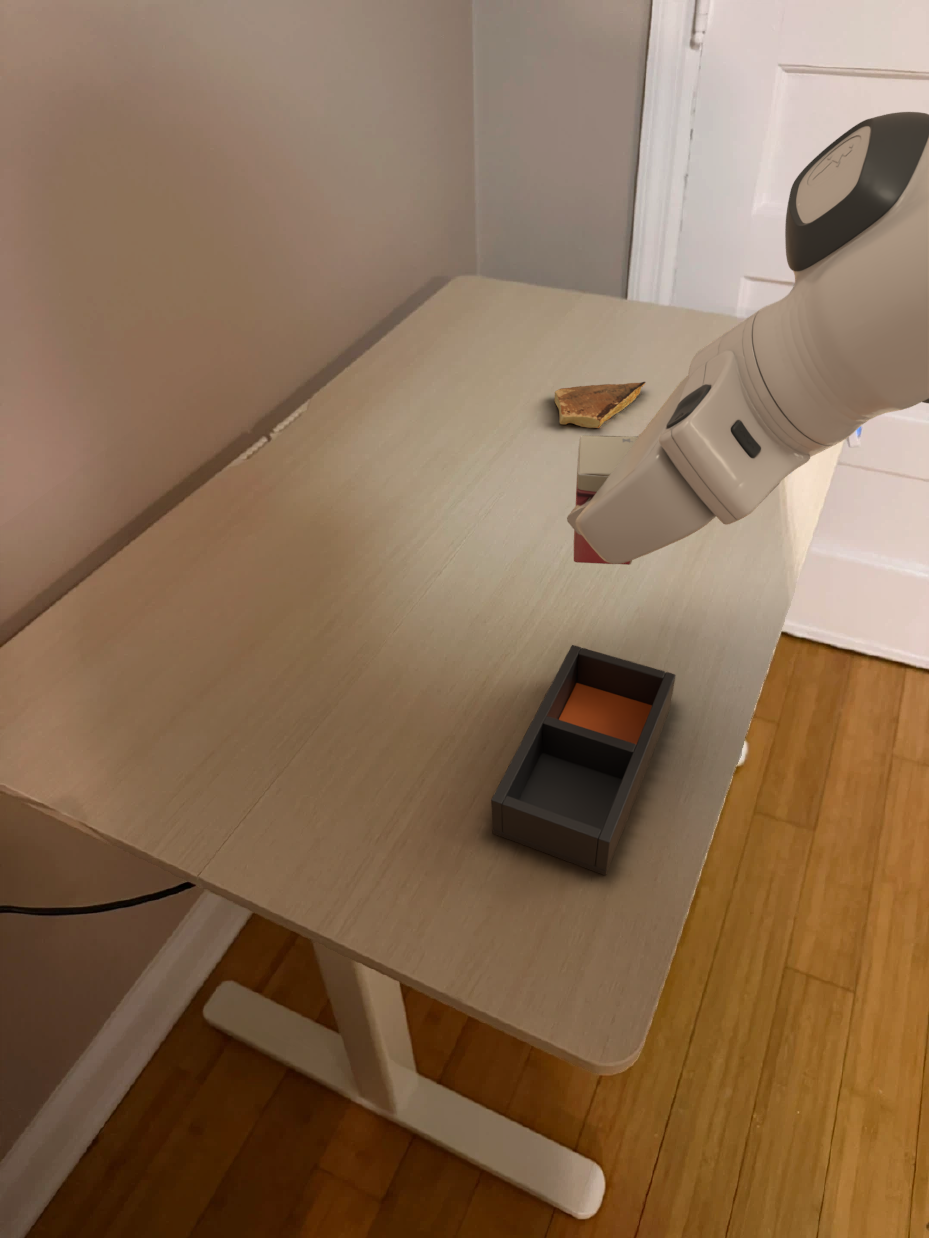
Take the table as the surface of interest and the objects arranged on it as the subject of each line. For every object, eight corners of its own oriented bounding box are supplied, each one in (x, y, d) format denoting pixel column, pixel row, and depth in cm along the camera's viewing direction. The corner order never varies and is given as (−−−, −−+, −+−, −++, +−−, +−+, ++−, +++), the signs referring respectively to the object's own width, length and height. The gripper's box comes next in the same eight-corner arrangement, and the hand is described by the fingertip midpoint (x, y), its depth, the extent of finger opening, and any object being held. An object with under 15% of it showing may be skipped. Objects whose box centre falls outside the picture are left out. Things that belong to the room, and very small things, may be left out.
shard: (644, 392, 106) (645, 379, 104) (657, 427, 100) (659, 413, 99) (553, 398, 106) (553, 385, 104) (561, 433, 100) (562, 419, 99)
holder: (670, 709, 71) (676, 674, 68) (605, 875, 60) (609, 842, 57) (570, 678, 73) (571, 644, 70) (492, 833, 63) (490, 799, 60)
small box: (574, 522, 68) (578, 432, 63) (631, 524, 68) (640, 434, 62) (572, 564, 64) (576, 473, 59) (632, 567, 64) (642, 475, 58)
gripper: (777, 288, 58) (626, 391, 69) (667, 442, 46) (503, 540, 56) (831, 364, 60) (675, 454, 70) (739, 534, 47) (566, 612, 58)
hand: (598, 493), depth 63 cm, fingers closed on small box, 6 cm apart
